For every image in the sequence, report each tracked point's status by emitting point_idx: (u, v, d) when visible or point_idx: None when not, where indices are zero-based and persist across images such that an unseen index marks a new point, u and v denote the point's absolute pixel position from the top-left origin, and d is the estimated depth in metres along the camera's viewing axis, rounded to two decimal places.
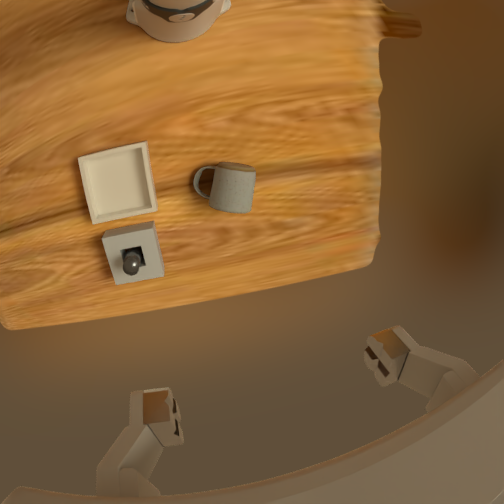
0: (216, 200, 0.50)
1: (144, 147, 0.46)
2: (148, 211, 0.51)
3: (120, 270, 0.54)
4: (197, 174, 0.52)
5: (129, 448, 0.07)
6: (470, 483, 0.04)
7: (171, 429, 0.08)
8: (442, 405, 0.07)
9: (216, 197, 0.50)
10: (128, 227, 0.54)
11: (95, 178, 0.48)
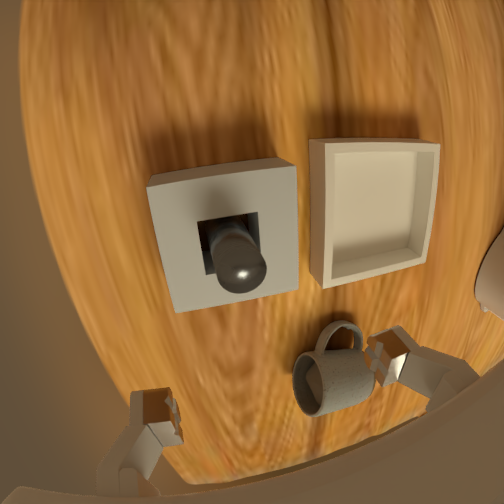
0: (336, 381, 0.28)
1: (419, 261, 0.28)
2: (325, 273, 0.26)
3: (194, 206, 0.19)
4: (352, 326, 0.32)
5: (129, 448, 0.07)
6: (470, 483, 0.04)
7: (171, 428, 0.08)
8: (442, 405, 0.07)
9: (339, 378, 0.29)
10: None
11: (388, 158, 0.25)
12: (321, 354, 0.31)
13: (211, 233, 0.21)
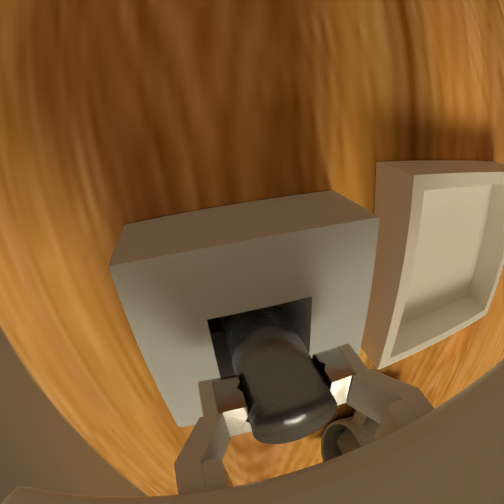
0: None
1: (481, 314, 0.19)
2: (385, 352, 0.17)
3: (202, 296, 0.10)
4: None
5: (208, 439, 0.08)
6: (470, 483, 0.04)
7: (245, 415, 0.09)
8: (442, 405, 0.07)
9: None
10: None
11: (465, 189, 0.16)
12: (362, 425, 0.22)
13: (231, 331, 0.12)
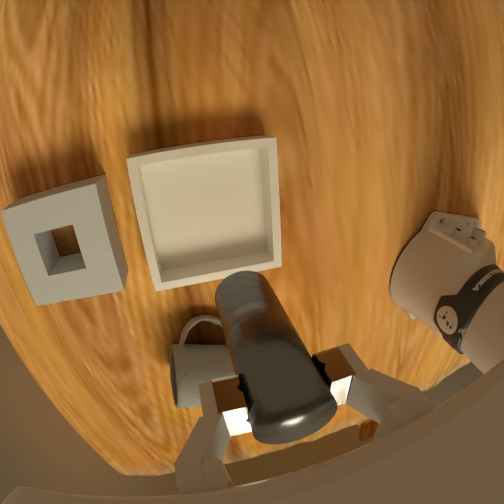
0: (190, 373, 0.29)
1: (272, 265, 0.30)
2: (154, 276, 0.27)
3: (30, 223, 0.20)
4: (217, 322, 0.33)
5: (208, 439, 0.08)
6: (470, 483, 0.04)
7: (245, 415, 0.09)
8: (442, 405, 0.07)
9: (195, 371, 0.30)
10: (114, 227, 0.26)
11: (218, 160, 0.26)
12: (181, 346, 0.32)
13: (231, 331, 0.12)
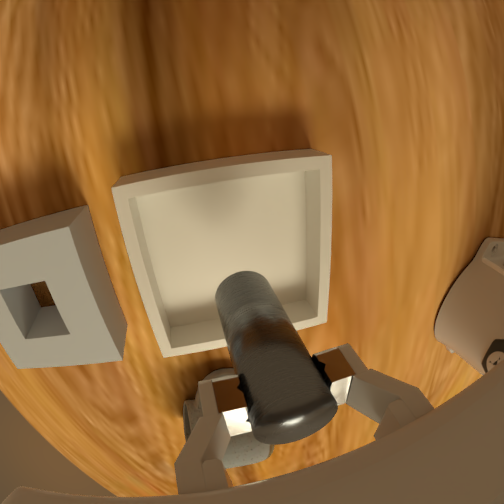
0: None
1: (315, 322, 0.22)
2: (160, 342, 0.20)
3: None
4: None
5: (208, 439, 0.08)
6: (470, 483, 0.04)
7: (245, 415, 0.09)
8: (442, 405, 0.07)
9: None
10: (104, 276, 0.19)
11: (247, 185, 0.19)
12: (198, 407, 0.24)
13: (231, 331, 0.12)
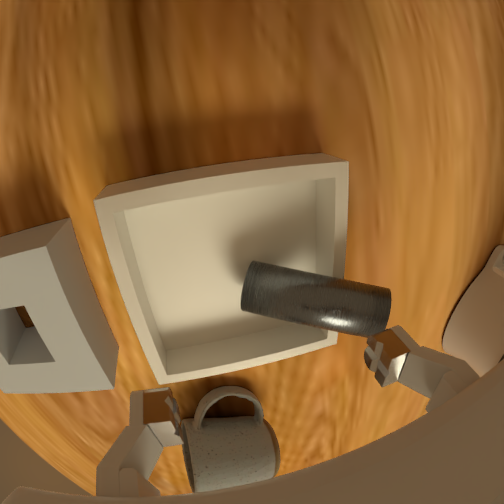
0: (211, 465, 0.19)
1: (325, 344, 0.20)
2: (155, 369, 0.17)
3: None
4: (244, 396, 0.23)
5: (129, 448, 0.07)
6: (470, 483, 0.04)
7: (171, 428, 0.08)
8: (442, 405, 0.07)
9: (217, 461, 0.20)
10: (91, 297, 0.16)
11: (251, 195, 0.17)
12: (197, 428, 0.22)
13: (306, 309, 0.15)
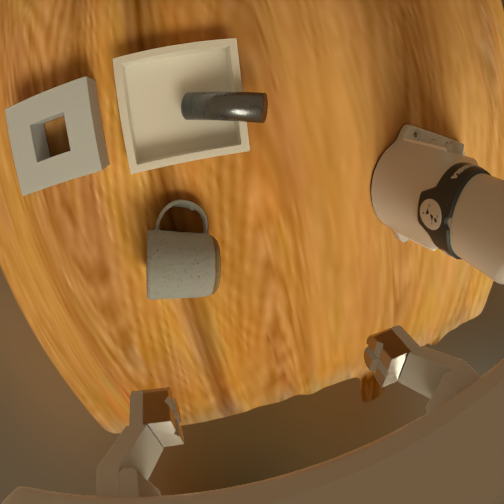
0: (161, 249, 0.29)
1: (240, 149, 0.30)
2: (130, 159, 0.28)
3: (28, 115, 0.21)
4: (192, 205, 0.33)
5: (129, 448, 0.07)
6: (470, 483, 0.04)
7: (171, 429, 0.08)
8: (442, 405, 0.07)
9: (166, 247, 0.30)
10: (99, 121, 0.27)
11: (190, 63, 0.27)
12: (156, 228, 0.32)
13: (214, 102, 0.26)
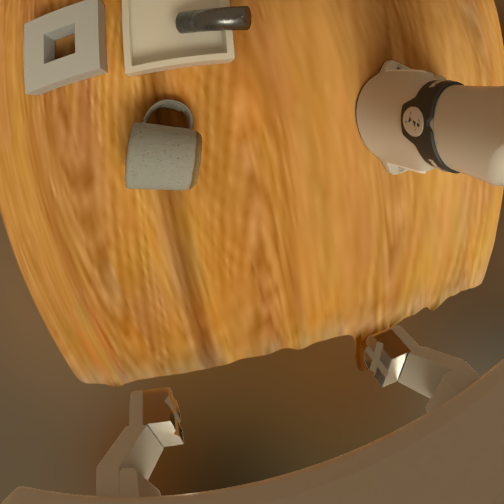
0: (144, 131, 0.28)
1: (226, 56, 0.29)
2: (126, 61, 0.26)
3: (43, 27, 0.20)
4: (180, 104, 0.32)
5: (129, 448, 0.07)
6: (470, 483, 0.04)
7: (171, 428, 0.08)
8: (442, 405, 0.07)
9: (150, 130, 0.28)
10: (103, 36, 0.25)
11: None
12: (142, 121, 0.30)
13: (204, 14, 0.24)
